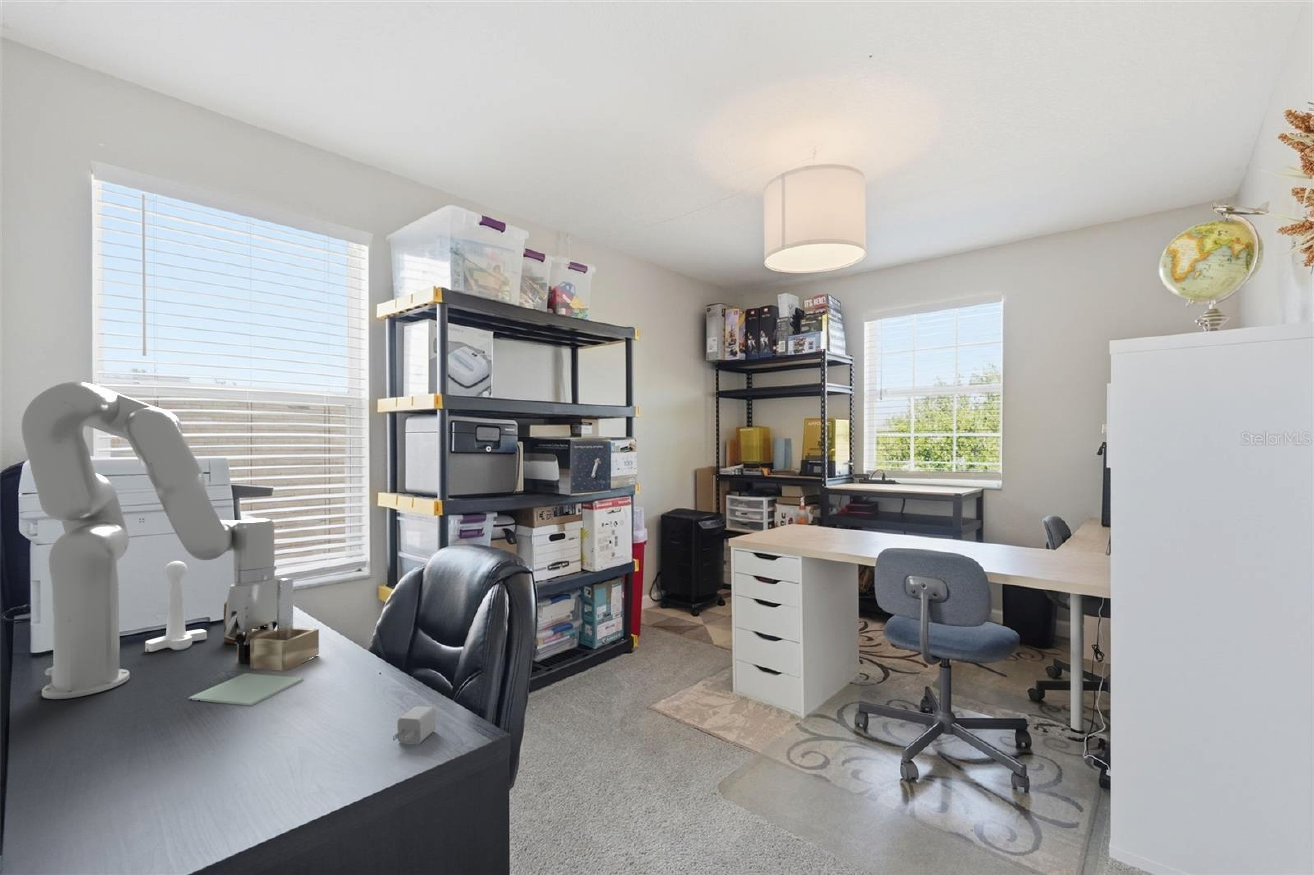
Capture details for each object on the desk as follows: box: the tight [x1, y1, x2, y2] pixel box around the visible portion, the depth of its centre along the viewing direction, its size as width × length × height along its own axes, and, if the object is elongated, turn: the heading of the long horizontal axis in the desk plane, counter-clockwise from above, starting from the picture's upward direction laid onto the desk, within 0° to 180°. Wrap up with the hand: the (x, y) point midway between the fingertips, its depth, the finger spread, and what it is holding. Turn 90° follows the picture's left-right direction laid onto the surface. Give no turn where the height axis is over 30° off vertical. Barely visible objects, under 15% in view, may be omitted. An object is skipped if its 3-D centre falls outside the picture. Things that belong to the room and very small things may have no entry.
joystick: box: [144, 560, 208, 653], centre depth 143 cm, size 11×8×20 cm
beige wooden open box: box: [237, 627, 320, 672], centre depth 132 cm, size 15×9×6 cm, turn 77°
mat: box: [188, 672, 304, 707], centre depth 117 cm, size 14×12×1 cm
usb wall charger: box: [392, 705, 437, 745], centre depth 96 cm, size 4×7×4 cm, turn 170°
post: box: [276, 577, 294, 640], centre depth 132 cm, size 3×3×18 cm
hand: (255, 657), depth 133 cm, fingers closed on beige wooden open box, 4 cm apart
